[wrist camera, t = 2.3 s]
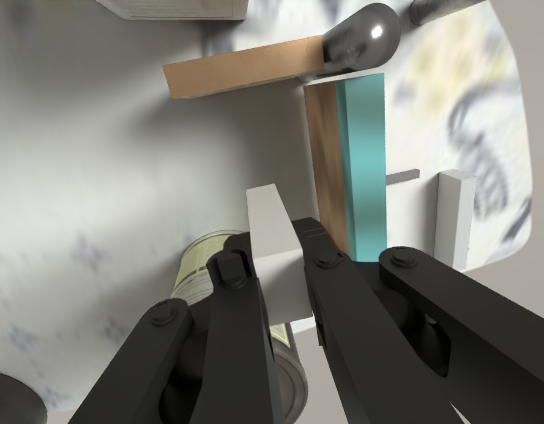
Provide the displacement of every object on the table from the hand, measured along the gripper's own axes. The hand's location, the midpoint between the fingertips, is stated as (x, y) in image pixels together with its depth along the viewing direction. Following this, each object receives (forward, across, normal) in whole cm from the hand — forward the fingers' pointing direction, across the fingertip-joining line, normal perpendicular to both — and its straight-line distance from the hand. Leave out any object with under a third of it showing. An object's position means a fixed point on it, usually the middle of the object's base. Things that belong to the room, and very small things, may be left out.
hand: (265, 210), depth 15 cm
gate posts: (+12, +7, +8) cm, 16 cm away
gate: (+11, +6, -2) cm, 12 cm away
